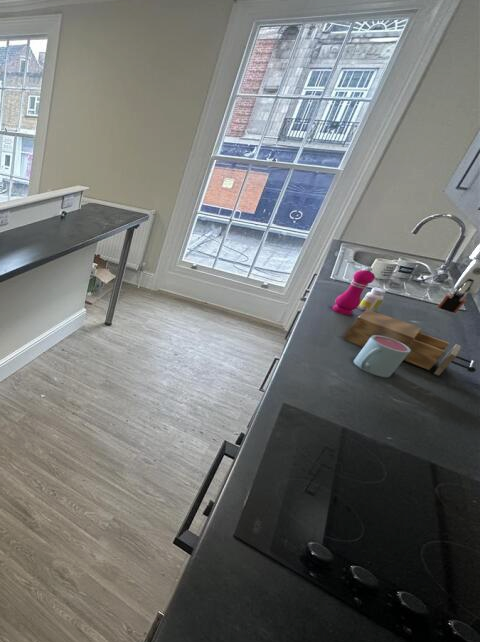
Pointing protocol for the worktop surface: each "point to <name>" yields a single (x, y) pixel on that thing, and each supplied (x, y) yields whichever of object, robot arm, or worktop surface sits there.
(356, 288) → the pepper mill
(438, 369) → the drawer
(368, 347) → the mug
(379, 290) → the supplement bottle
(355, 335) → the cabinet
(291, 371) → the worktop surface
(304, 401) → the worktop surface
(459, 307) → the block
